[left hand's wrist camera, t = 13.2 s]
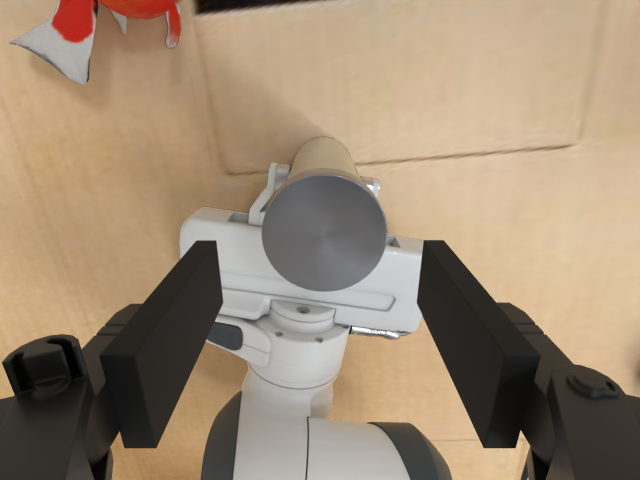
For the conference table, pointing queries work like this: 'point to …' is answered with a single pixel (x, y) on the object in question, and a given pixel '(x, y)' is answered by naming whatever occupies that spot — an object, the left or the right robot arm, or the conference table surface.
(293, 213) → the lid
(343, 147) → the bottle
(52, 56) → the fish
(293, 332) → the right robot arm
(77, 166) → the conference table surface
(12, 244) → the conference table surface
